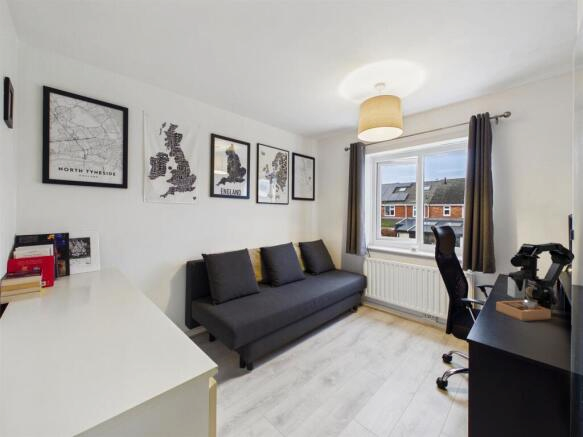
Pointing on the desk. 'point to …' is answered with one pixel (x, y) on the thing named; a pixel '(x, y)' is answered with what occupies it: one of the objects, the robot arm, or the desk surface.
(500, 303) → the tote
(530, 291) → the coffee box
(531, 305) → the grey cylinder
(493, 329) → the desk surface
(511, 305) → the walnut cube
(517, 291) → the supplement box
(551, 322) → the desk surface
